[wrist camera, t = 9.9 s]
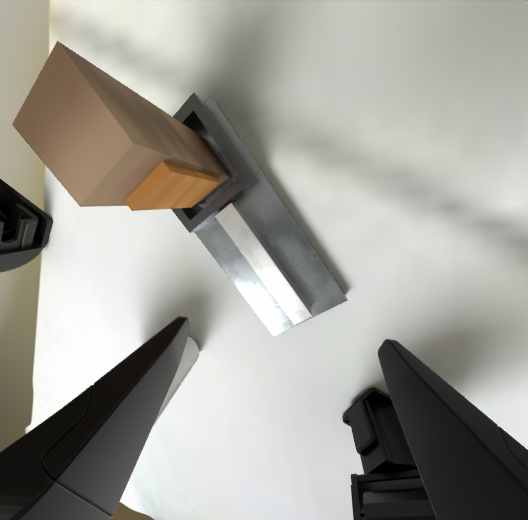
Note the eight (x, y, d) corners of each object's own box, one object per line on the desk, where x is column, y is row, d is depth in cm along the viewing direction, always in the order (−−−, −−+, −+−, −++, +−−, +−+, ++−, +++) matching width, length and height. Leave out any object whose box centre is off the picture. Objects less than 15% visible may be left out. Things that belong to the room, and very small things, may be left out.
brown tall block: (235, 183, 18) (143, 157, 7) (205, 209, 19) (89, 217, 9) (205, 138, 17) (57, 41, 7) (175, 168, 18) (12, 124, 8)
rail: (345, 295, 20) (352, 311, 17) (275, 330, 23) (271, 349, 20) (215, 102, 17) (198, 82, 14) (153, 169, 20) (128, 164, 17)
